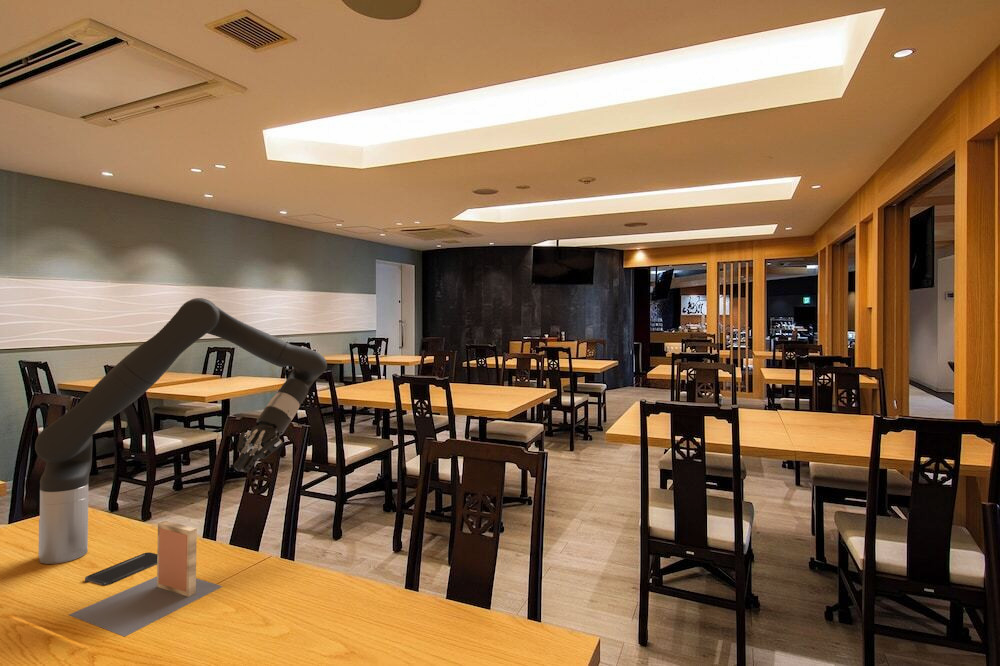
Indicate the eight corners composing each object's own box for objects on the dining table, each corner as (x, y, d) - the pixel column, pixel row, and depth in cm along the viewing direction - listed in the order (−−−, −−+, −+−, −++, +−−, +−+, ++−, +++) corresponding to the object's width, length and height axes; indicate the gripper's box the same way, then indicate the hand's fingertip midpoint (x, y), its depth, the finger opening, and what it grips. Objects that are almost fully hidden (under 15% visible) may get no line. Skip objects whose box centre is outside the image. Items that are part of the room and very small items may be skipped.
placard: (156, 587, 117) (156, 523, 117) (164, 583, 119) (164, 520, 119) (187, 597, 113) (188, 531, 113) (195, 593, 115) (196, 528, 115)
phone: (82, 577, 120) (147, 551, 134) (82, 582, 120) (147, 556, 134) (106, 584, 117) (170, 557, 131) (106, 590, 117) (170, 561, 131)
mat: (68, 616, 106) (68, 614, 106) (170, 572, 125) (170, 570, 125) (124, 638, 99) (124, 636, 99) (223, 588, 118) (223, 586, 118)
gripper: (251, 402, 144) (210, 458, 133) (291, 407, 139) (252, 465, 128) (267, 419, 149) (228, 474, 138) (305, 424, 144) (269, 481, 133)
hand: (240, 469), depth 133 cm, fingers closed
